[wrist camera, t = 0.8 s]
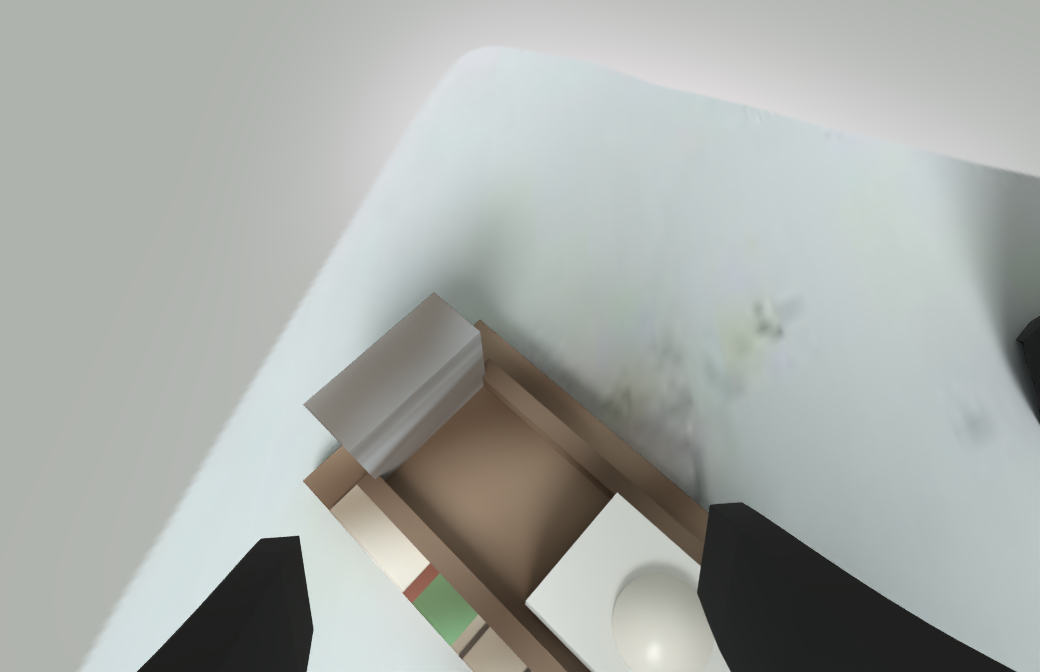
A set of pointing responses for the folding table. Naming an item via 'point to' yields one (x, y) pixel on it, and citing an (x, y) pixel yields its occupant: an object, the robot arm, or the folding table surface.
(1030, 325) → the portable speaker
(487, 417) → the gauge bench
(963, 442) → the folding table surface
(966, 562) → the folding table surface
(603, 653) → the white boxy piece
